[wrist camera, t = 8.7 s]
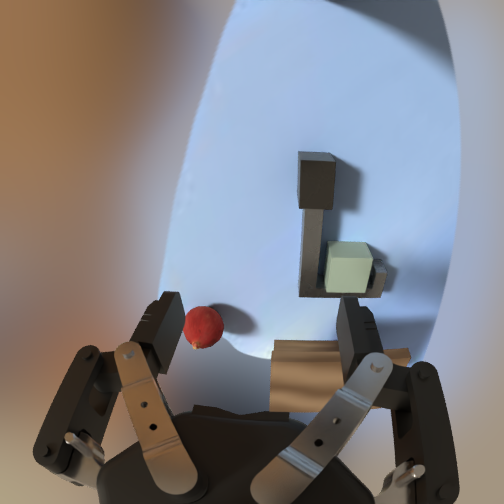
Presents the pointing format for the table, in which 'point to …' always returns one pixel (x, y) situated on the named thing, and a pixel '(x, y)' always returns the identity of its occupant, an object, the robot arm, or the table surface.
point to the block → (347, 267)
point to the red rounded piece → (203, 327)
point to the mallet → (313, 203)
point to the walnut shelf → (311, 374)
